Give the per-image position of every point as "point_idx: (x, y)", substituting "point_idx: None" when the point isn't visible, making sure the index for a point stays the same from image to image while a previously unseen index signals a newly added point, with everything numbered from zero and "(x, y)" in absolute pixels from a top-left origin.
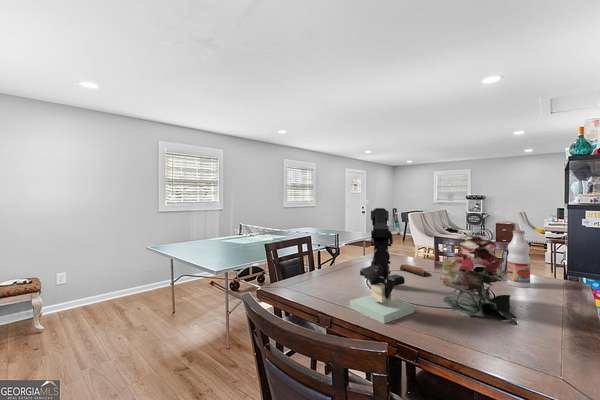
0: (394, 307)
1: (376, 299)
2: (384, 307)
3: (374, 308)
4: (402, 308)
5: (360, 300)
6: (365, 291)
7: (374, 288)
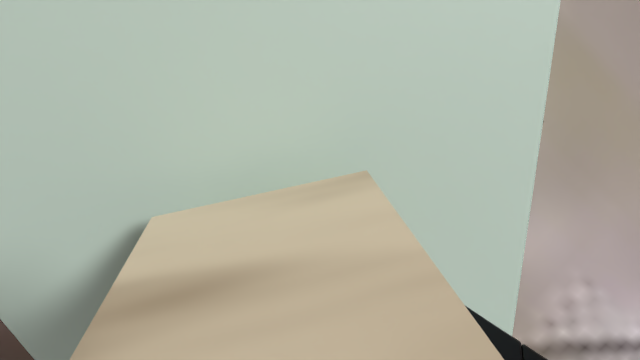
0: (89, 299)
1: (259, 200)
2: (116, 198)
3: (109, 38)
4: (42, 353)
5: (475, 43)
6: (636, 291)
7: (336, 337)
